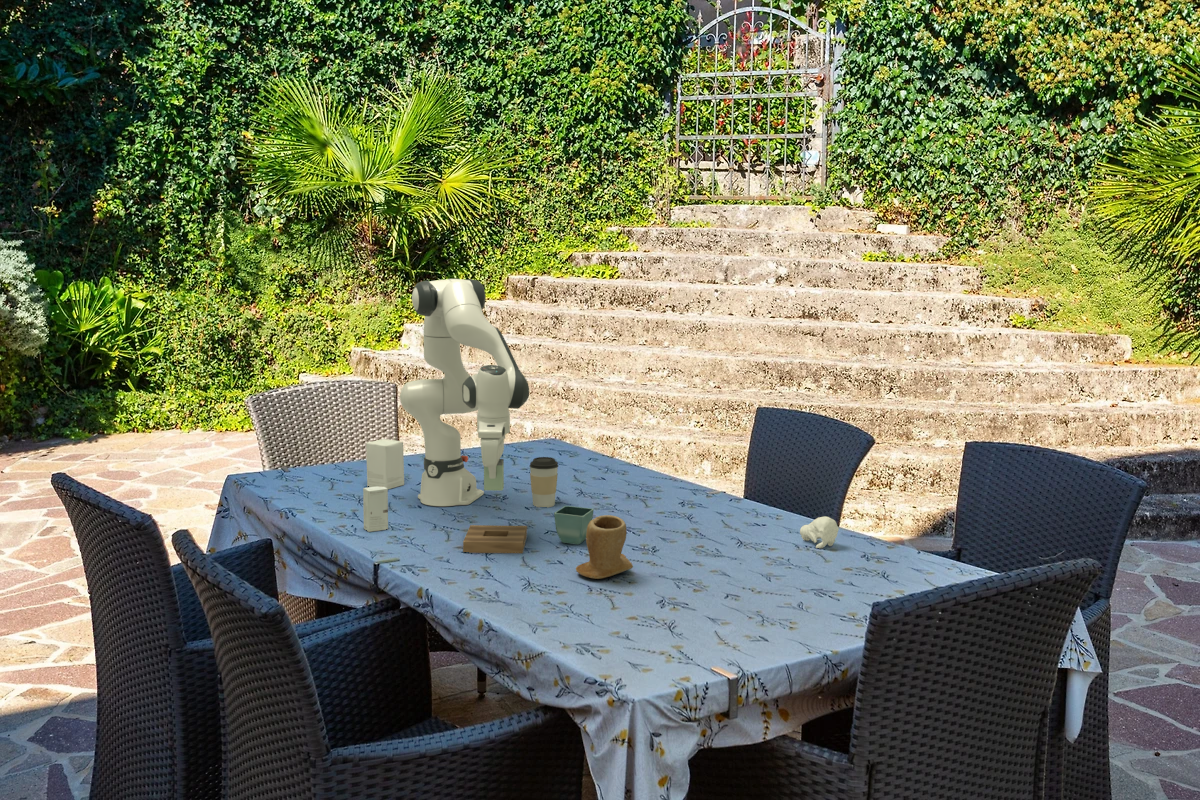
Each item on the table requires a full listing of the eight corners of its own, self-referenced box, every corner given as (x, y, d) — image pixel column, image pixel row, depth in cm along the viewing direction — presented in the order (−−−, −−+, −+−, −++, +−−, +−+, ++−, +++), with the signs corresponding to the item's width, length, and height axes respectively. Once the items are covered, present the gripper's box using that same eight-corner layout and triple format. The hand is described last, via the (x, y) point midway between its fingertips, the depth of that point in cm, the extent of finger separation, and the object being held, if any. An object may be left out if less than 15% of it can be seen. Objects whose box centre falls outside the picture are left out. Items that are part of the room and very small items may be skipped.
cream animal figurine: (823, 520, 296) (793, 514, 306) (824, 551, 296) (793, 543, 306) (840, 516, 299) (809, 510, 309) (841, 547, 300) (810, 540, 310)
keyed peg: (485, 487, 299) (485, 458, 298) (503, 487, 299) (503, 459, 297) (484, 490, 295) (483, 461, 294) (502, 490, 295) (502, 461, 294)
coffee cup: (524, 506, 339) (524, 459, 337) (536, 499, 347) (537, 453, 345) (550, 509, 336) (551, 462, 333) (562, 502, 344) (563, 456, 342)
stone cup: (601, 586, 266) (601, 527, 264) (569, 574, 275) (570, 517, 273) (645, 573, 277) (646, 516, 274) (613, 562, 285) (614, 507, 283)
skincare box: (368, 532, 309) (367, 491, 307) (363, 528, 313) (362, 487, 311) (389, 529, 313) (388, 488, 311) (383, 525, 316) (382, 485, 314)
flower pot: (594, 539, 306) (594, 508, 304) (583, 548, 297) (583, 516, 296) (564, 535, 309) (564, 505, 307) (553, 544, 300) (553, 512, 299)
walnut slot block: (470, 535, 308) (470, 525, 307) (526, 536, 308) (526, 525, 307) (463, 552, 292) (463, 541, 291) (522, 553, 292) (522, 542, 291)
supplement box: (405, 485, 364) (404, 441, 362) (386, 490, 357) (385, 445, 354) (385, 481, 369) (384, 438, 367) (366, 486, 362) (365, 442, 359)
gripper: (486, 419, 305) (486, 467, 307) (477, 433, 284) (477, 484, 287) (508, 419, 304) (509, 467, 307) (501, 433, 284) (501, 484, 286)
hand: (493, 475), depth 296 cm, fingers closed on keyed peg, 3 cm apart
